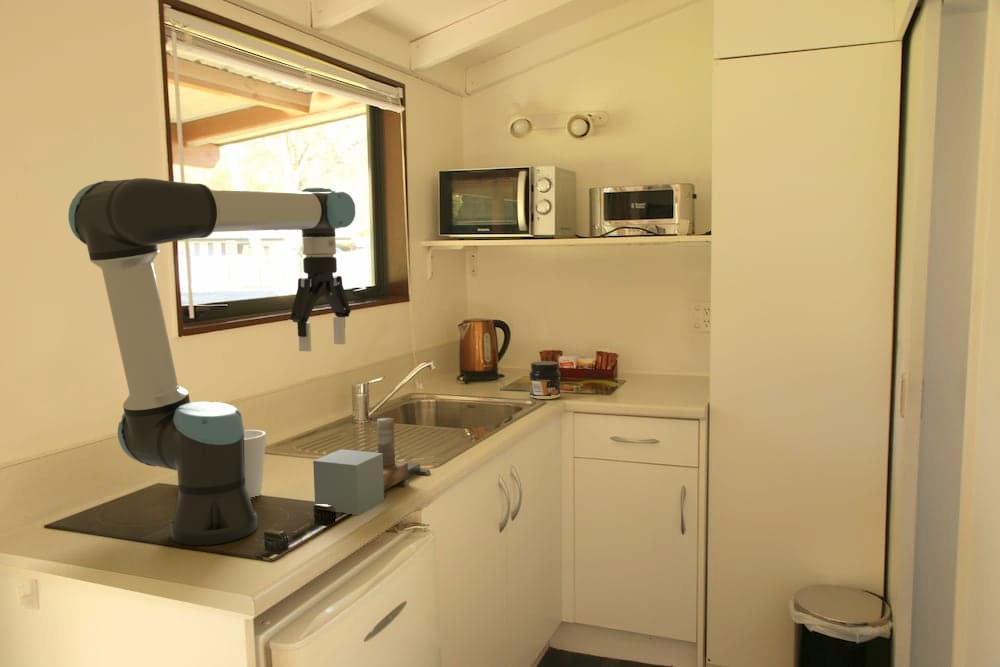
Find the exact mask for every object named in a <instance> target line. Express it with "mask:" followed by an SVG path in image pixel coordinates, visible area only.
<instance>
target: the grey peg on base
mask: <svg viewBox="0 0 1000 667" xmlns="http://www.w3.org/2000/svg"><path fill="white" fill-rule="evenodd" d="M376 426H377V427H376V428H377V429H376V430H377V432H376V433H377V453H383V482H384V490H385V489H387V488H389V487H391V486H393V485H395V484H397V483H399V482H400V481H402V480H404V479H405V475H406V474H408V462H403V461H396V457H395V456H396V452H395V450H396V447H395V445H396V444H395V418H392V417H380V418H377V419H376ZM404 481H405V480H404ZM393 487H394V486H393ZM391 488H392V487H391Z"/></svg>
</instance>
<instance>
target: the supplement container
mask: <svg viewBox="0 0 1000 667" xmlns="http://www.w3.org/2000/svg"><path fill="white" fill-rule="evenodd" d="M530 369H531V370H530V371H529V375H528V376H529V396H530V395H533V396H551V395H558V394H560V395H561V372H560V370H559V369H560V363H559V362H557V361H551V360H550V361H547V360H546V361H545V360H544V361H543V360H541V361H540V360H539V361H534V362H531V363H530Z"/></svg>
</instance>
